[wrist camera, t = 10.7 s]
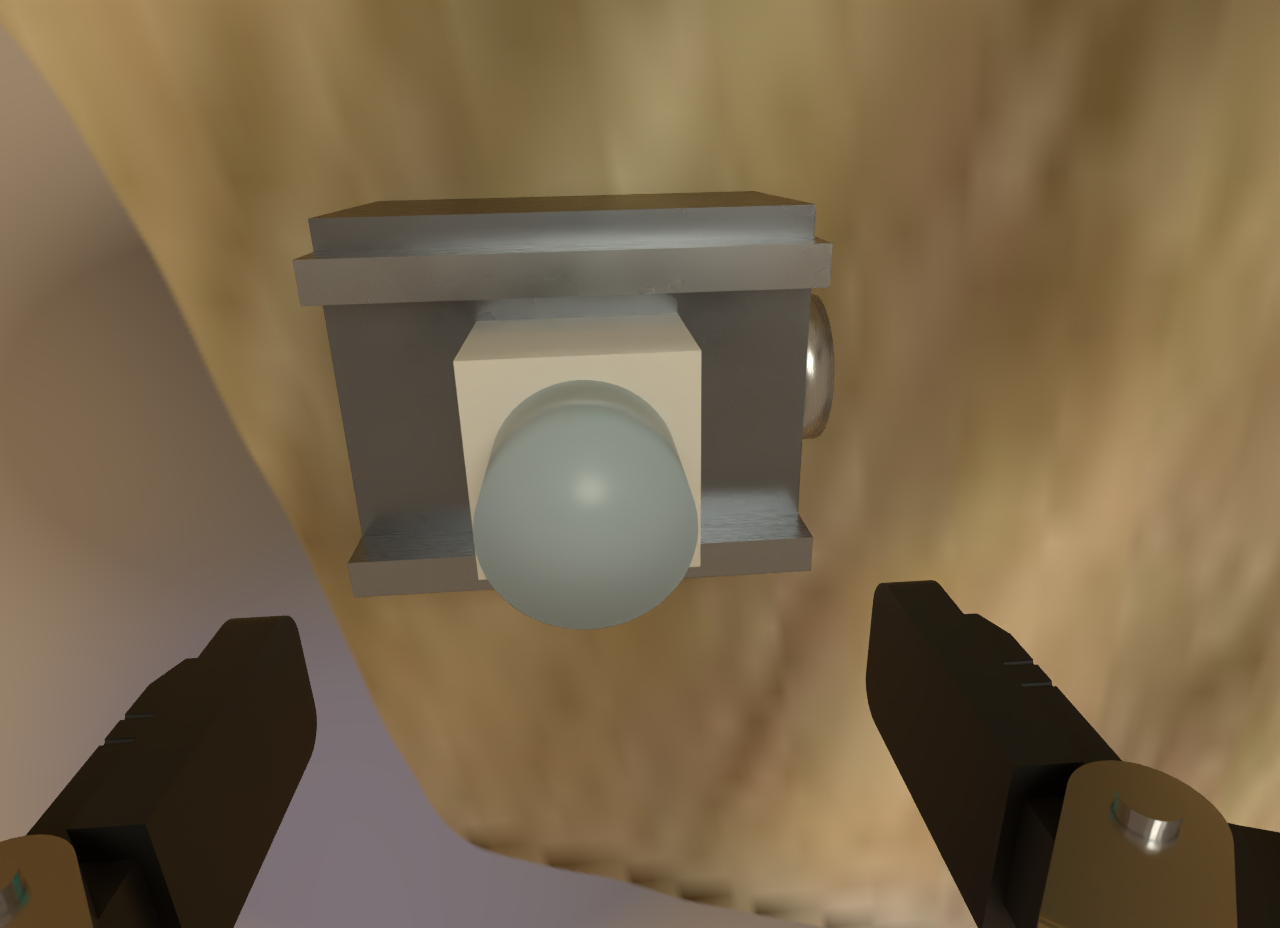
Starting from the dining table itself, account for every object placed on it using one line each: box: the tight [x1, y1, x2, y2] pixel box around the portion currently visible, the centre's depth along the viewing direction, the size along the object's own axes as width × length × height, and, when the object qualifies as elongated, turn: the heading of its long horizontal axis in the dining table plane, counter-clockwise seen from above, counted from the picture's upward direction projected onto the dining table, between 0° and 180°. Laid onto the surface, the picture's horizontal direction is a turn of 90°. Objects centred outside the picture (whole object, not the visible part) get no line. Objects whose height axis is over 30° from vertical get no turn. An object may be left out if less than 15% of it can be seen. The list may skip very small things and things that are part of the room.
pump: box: [453, 313, 701, 630], centre depth 17 cm, size 5×5×7 cm
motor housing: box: [293, 191, 834, 597], centre depth 23 cm, size 13×10×8 cm
